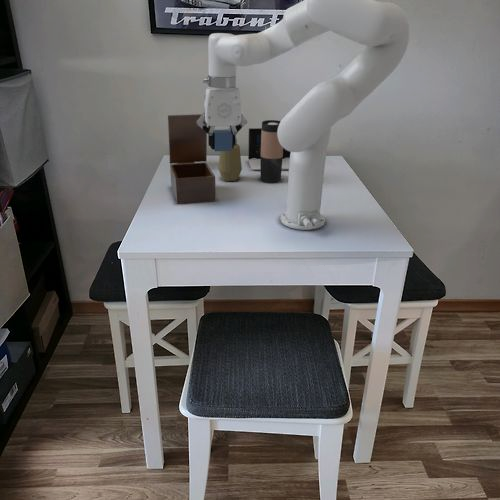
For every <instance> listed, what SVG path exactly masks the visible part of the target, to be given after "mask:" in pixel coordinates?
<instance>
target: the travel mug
mask: <svg viewBox="0 0 500 500" xmlns="http://www.w3.org/2000/svg"><path fill="white" fill-rule="evenodd" d="M280 122H281V120H277V119H276V120H275V119H265V120H263V121H262V122H261V128H262V133H261V159H260V160H261V170H260V181H261V182H263V183H267V184H275V183H280V182H281V181H282V180H281V179H282V171H283V170H282V159H283V147H282V146H281V145H280V143H279V140H278V136H277V131H278V126H279V124H280Z"/></svg>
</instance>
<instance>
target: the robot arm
mask: <svg viewBox="0 0 500 500" xmlns="http://www.w3.org/2000/svg"><path fill="white" fill-rule="evenodd" d="M282 16H283V17H282V19H281V20H280V21H278V22H277V23H275V24H274V25H272V26H270V27H268V28H266V29H264V30H262V31H260V32H257V33H246V34H245V33H244V34H232V33H229V32H228V33H226V32H225V33H224V32H214V33H211V34H209V36H208V43H207V45H208V46H207V48H208V51H207V53H208V57H207V59H208V75H207V76H206V77H205V78H203V79H202V81H203V84H205V85H207V87H206V89H205V94H204V101H203V103H204V104H203V112H202V113H201V114H202V115H201V116H200V118H199V119H198V120H197V122H196V123H197V125H198V126H200V127H201V128H202V129H204V130H205V131H206V132H207V145H208V146H209V147H210V149H211V150H213V151H214V149H215V136H214V133H213V132H214V130H215V128H216V127H228V126H229V127H230V129H231V133H232V149H234V145H235V144H236V138H237V137H236V135H238V133H239V132H240V131H241V130H242V128H244V127H245V126H246V125H247V124H248V120H247V119H246V118H245V116H244V115H243V114H242V103H241V94H240V93H241V91H240V89H239V87H237V66H238V67H249V66H253V65H260V64H264V63H266V62H268V61H272V60H273V59H275V58H277V57H279V56H281V55H282V56H283V54H285V53H288V52H289V51H291V50H293V49H294V48H297V47H299V46H301V45H302V44H304V43H307V42H309V41H311V40H312V39H314V38H317V37H318V36H321V35H323V34H325V33H327V32H332V33H334V34H336V35H338V36H340V37H343V38H345V39H347V40H350V41H353V42H355V43H358V44H360V45H363V46H366V47H365V48H364V49H363V50H362V51H361V52H360V53H359V54H357V55H356V56H355V57H354V58H353V59H352V60H351V61H350V63H349V64H348V65H347V66H345V68H343V70H341V71H340V72H339V73H338V74H337V75H335V76H334V77H332V78H330V79H327V80H324V81H321V82H320V83H318V84H316V85H315V86H313V88H311V89H310V90H309V91H308V92H307V93H306V94H305V95H304V96H303V97H302V98H300V100H299V101H298V102H297V103H296V104H295V105H294V106H293V107H291V109H290V110H289V111H288V112H287V113H286V114H285V116H283V118H282V119H281V120H280V121H281V122H280V124H279V126H278V131H277V136H278V140H279V143H280V145H281V146H282V147H283V148H284V149H286V150H287V151H290V152H291V153H290V161H289V170H288V179H287V181H288V182H287V194H286V195H287V196H286V211H284V212H283V213H282V214H281V215H280V223H281V224H283V225H284V226H285V227H287V228H290V229H293V230H301V231H311V230H316V229H320V228H322V227H323V226H324V225H325V223H326V218H325V216H324V215H323V214H321V209H322V198H323V197H322V196H323V195H322V194H323V185H324V177H325V168H326V158H327V151H328V146H329V142H330V138H331V130H332V127H333V126H334V125H335V124H337V123H338V122H339V121H340V120H342V119H344V118H346V117H347V116H350V114H351V113H352V112H353V111H355V109H356V108H357V107H358V106H359V105H361V103H362V102H363V101H364V100H365V99H366V98H368V97H369V96H370V95H371V94H372V93H373V92H374V91H375V90H376V89H377V88H378V87H379V86H380V85H381V84H382V83H383V82H384V81H385V80H386V79H388V77H390V75H391V74H392V73H393V72H394V71H395V70H396V69H397V67H398V66H399V65H400V63H401V62H402V60H403V58H404V56H405V54H406V51H407V50H408V45H409V41H410V24H409V20H408V17H407V15H406V13H405V11H404V10H403V8H402V7H401V6H400V5H398V4H395V3H392V2H387V1H377V0H302V1H300V2H297V3H295V4H294V5H292V6H290V7H288V8H287V9H285V10H284V12H283V15H282ZM203 121H205V122H206V123H207V126H206V125H204V124H203Z"/></svg>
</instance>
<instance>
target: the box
mask: <svg viewBox="0 0 500 500" xmlns="http://www.w3.org/2000/svg"><path fill="white" fill-rule="evenodd" d="M169 169H170V185H171V186H170V187H171V190H172V194H173V197H174V199H175V202H176V204H177V205H180V204H181V205H182V204H183V205H184V204H193V203H206V202H216V201H217V200H216V199H217V198H216V175H215V174H214V171H212V168H211V167H210V166H209V164H208V163H207V161H205V162H194V163H186V164H177V163H169Z"/></svg>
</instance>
